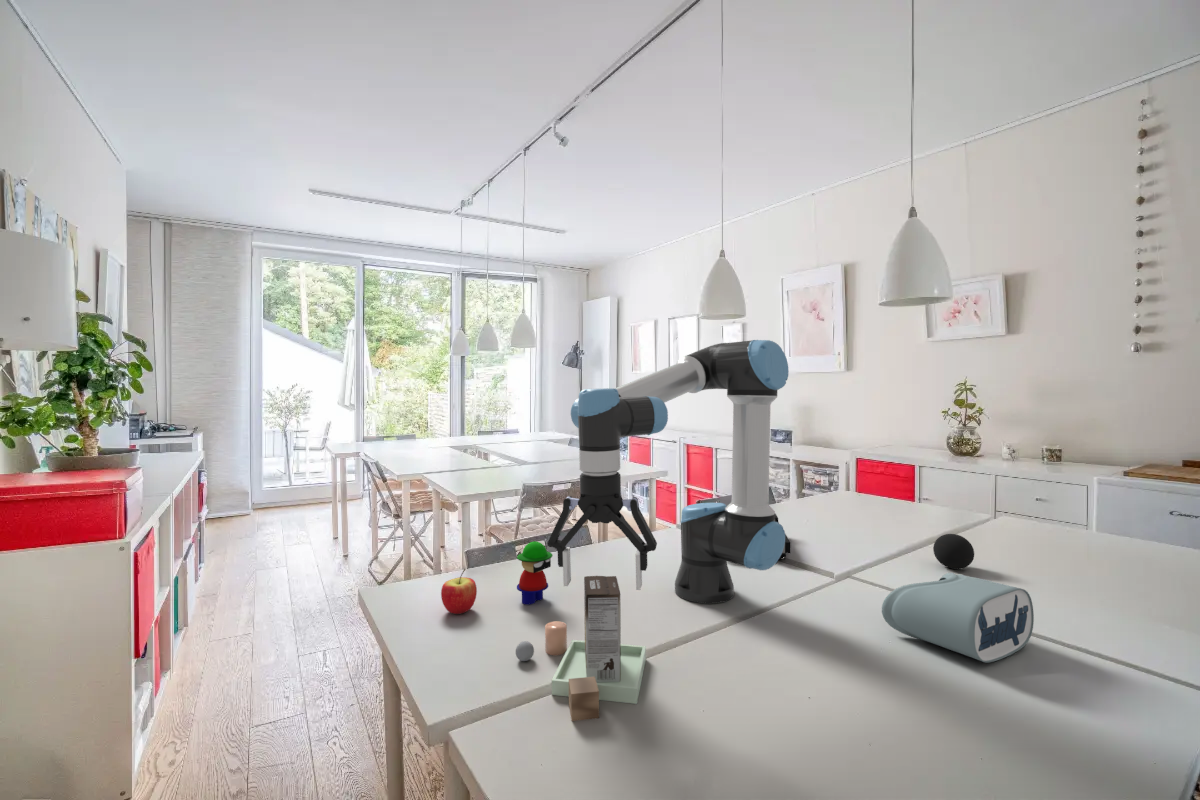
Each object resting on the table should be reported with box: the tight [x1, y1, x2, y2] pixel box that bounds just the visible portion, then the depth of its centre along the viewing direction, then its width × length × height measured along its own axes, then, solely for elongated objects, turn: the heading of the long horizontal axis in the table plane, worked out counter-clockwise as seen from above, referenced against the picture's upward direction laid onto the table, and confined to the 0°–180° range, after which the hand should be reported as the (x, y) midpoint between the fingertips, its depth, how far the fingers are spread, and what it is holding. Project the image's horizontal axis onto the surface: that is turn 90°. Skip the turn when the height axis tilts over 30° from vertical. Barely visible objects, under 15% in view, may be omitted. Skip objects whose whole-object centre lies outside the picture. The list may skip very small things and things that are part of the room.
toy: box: [516, 540, 553, 606], centre depth 133 cm, size 9×9×15 cm
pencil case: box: [881, 572, 1035, 664], centre depth 112 cm, size 22×19×13 cm
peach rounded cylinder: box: [544, 620, 568, 656], centre depth 108 cm, size 4×4×5 cm
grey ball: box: [515, 640, 535, 662], centre depth 105 cm, size 4×4×4 cm
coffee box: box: [583, 575, 622, 683], centre depth 98 cm, size 9×6×16 cm
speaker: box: [932, 533, 975, 570], centre depth 155 cm, size 10×10×10 cm
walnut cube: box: [568, 676, 600, 722], centre depth 88 cm, size 4×4×4 cm
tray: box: [551, 639, 647, 705], centre depth 99 cm, size 15×15×3 cm
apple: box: [440, 568, 478, 615], centre depth 127 cm, size 8×8×10 cm
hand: (602, 585), depth 98 cm, fingers open, 13 cm apart
